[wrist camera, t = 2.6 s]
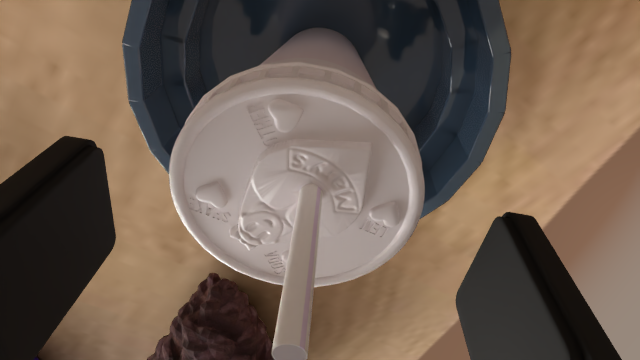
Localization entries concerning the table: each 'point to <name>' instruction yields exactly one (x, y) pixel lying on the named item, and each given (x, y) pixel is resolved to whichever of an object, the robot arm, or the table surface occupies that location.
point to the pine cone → (216, 327)
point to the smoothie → (299, 175)
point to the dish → (371, 45)
